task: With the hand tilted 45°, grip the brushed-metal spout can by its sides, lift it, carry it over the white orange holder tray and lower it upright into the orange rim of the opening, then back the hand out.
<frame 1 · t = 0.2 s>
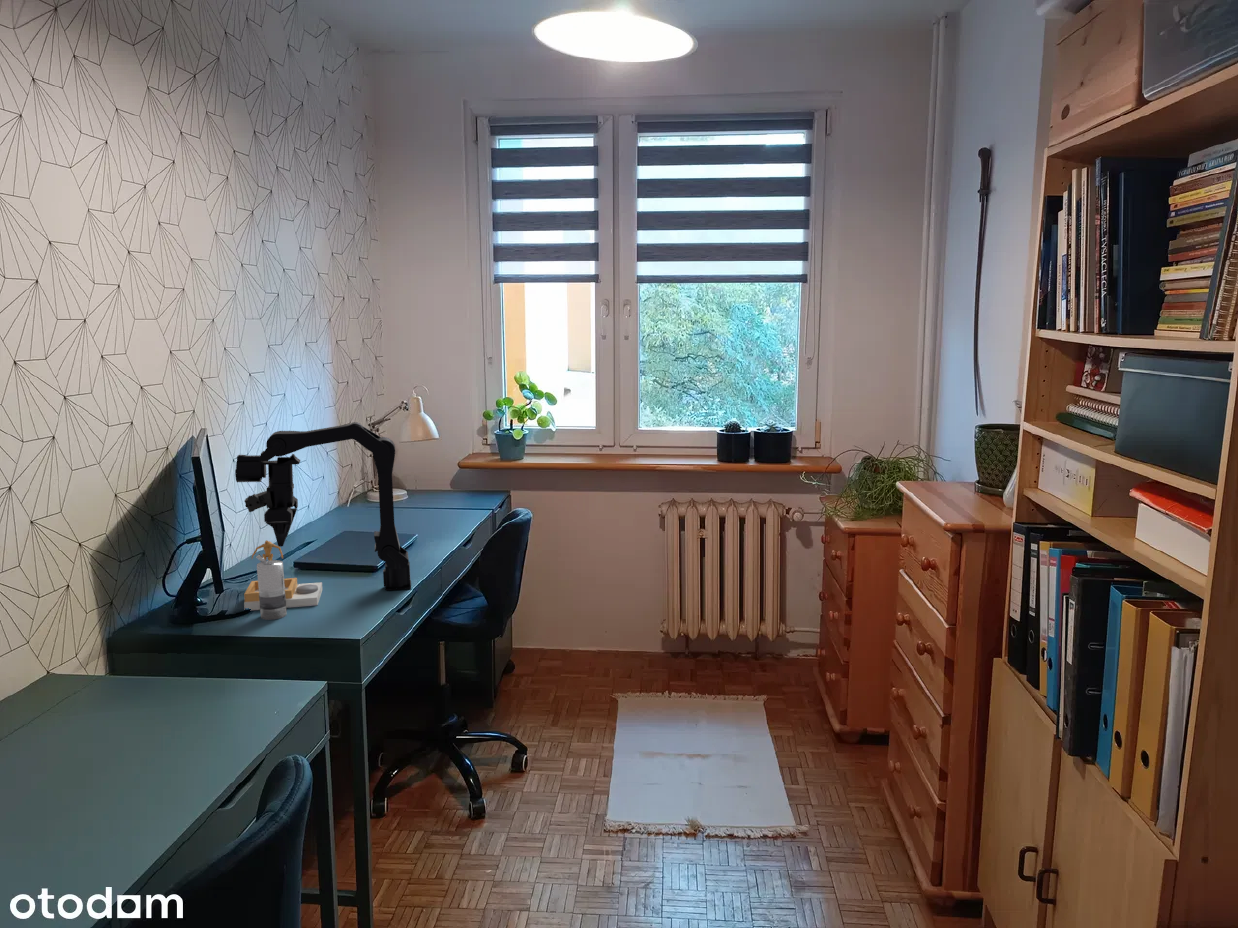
hand: (282, 541, 226), 14 cm above the table, tool pointing down, fingers open, 9 cm apart
figurine: (269, 585, 239), on the table
spout can: (273, 615, 214), on the table
white orange holder tray: (285, 599, 226), on the table
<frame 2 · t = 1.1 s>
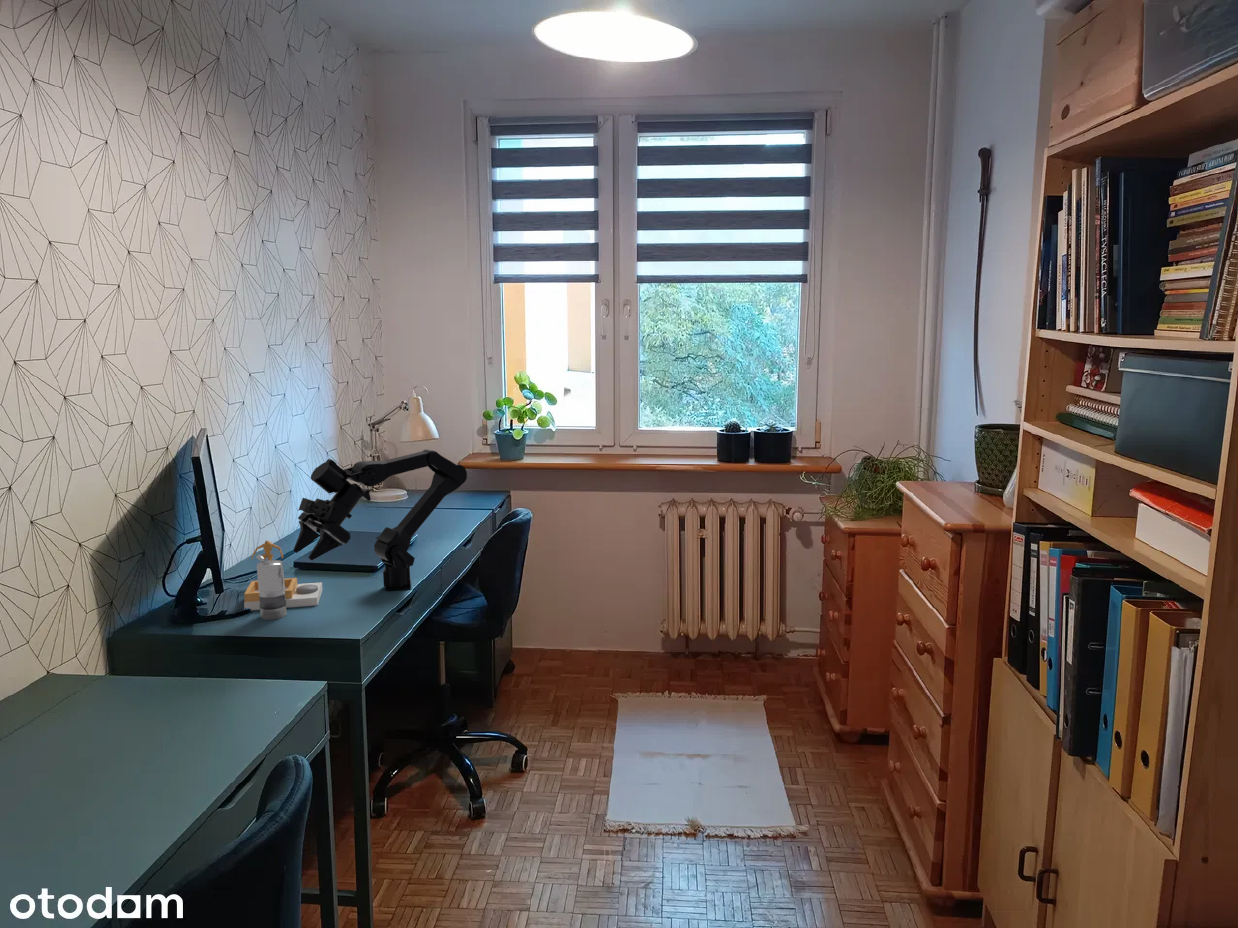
hand: (302, 555, 217), 13 cm above the table, tool tilted 45°, fingers open, 9 cm apart
nothing on the table moved.
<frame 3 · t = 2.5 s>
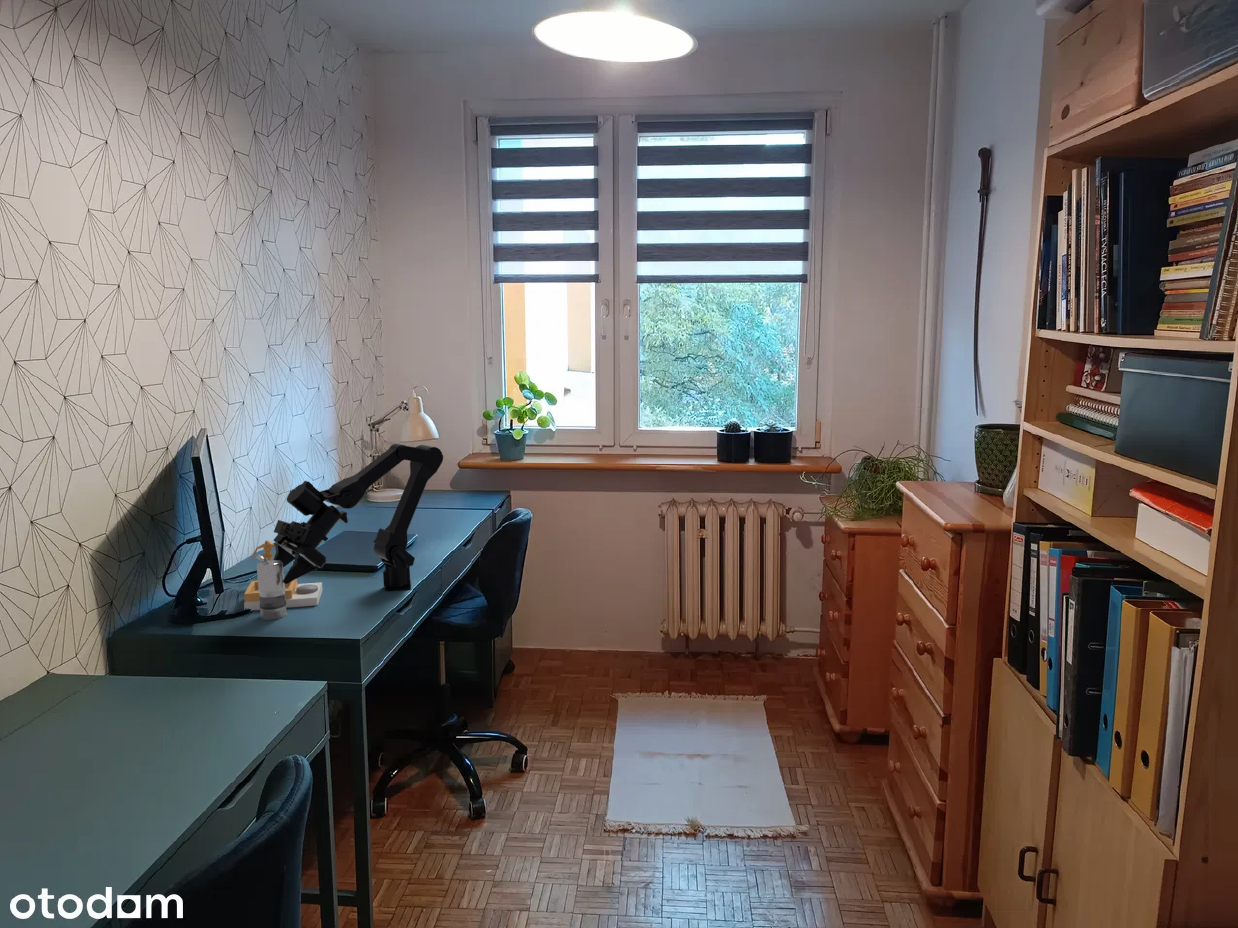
hand: (276, 578, 213), 9 cm above the table, tool tilted 45°, fingers open, 9 cm apart
nothing on the table moved.
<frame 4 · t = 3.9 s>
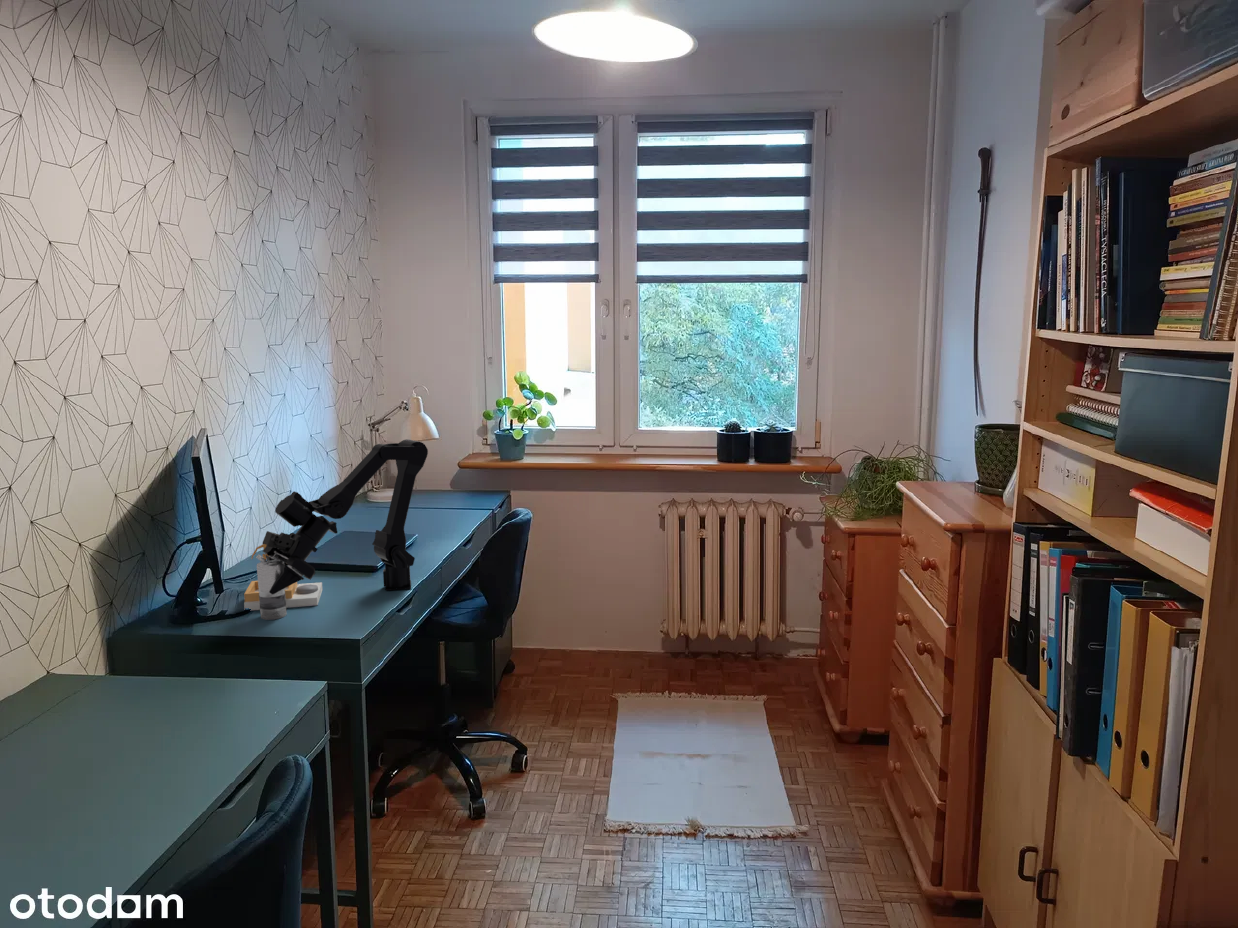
hand: (265, 590, 212), 7 cm above the table, tool tilted 45°, fingers closed on spout can, 6 cm apart
spout can: (273, 615, 214), on the table, touching gripper
everything else where it was.
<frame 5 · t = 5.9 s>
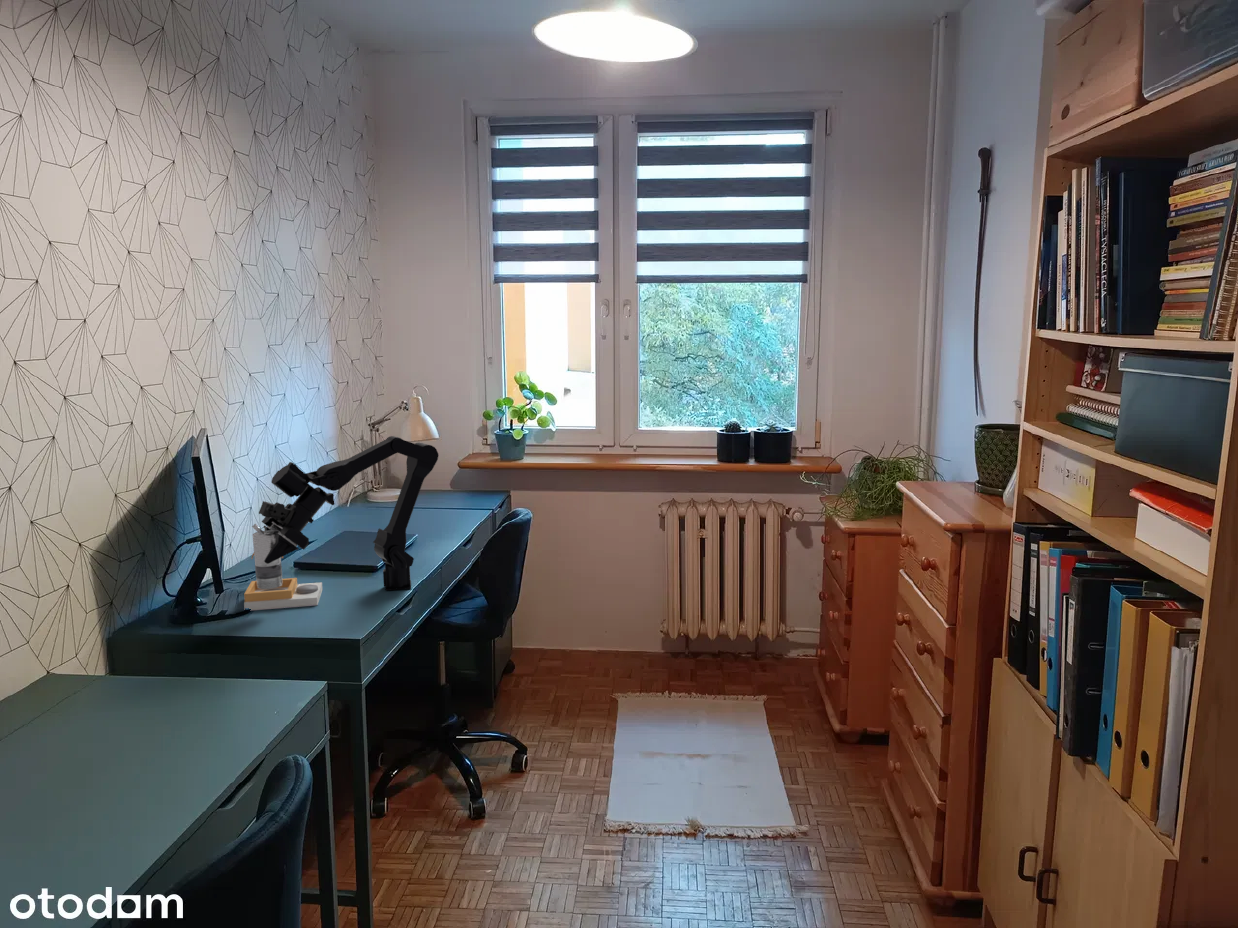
hand: (261, 560, 213), 13 cm above the table, tool tilted 45°, fingers closed on spout can, 6 cm apart
spout can: (270, 585, 215), point 7 cm above the table, touching gripper
everything else where it was.
when the fingers open (10 cm above the table, at t = 8.0 s): spout can stays where it is, resting on white orange holder tray.
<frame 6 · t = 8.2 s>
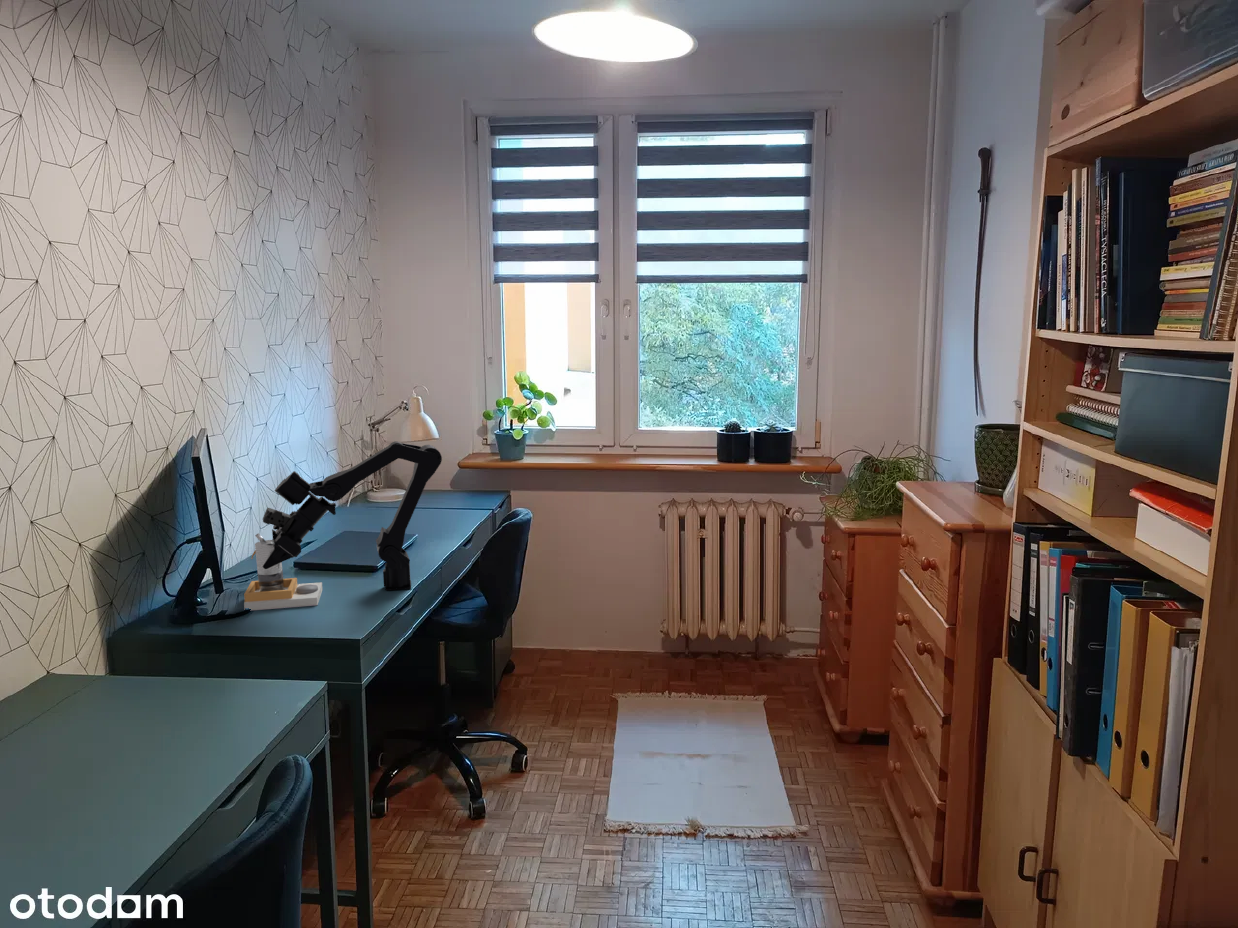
hand: (263, 563, 223), 10 cm above the table, tool tilted 45°, fingers open, 8 cm apart
spout can: (272, 592, 225), point 2 cm above the table, touching white orange holder tray
everything else where it was.
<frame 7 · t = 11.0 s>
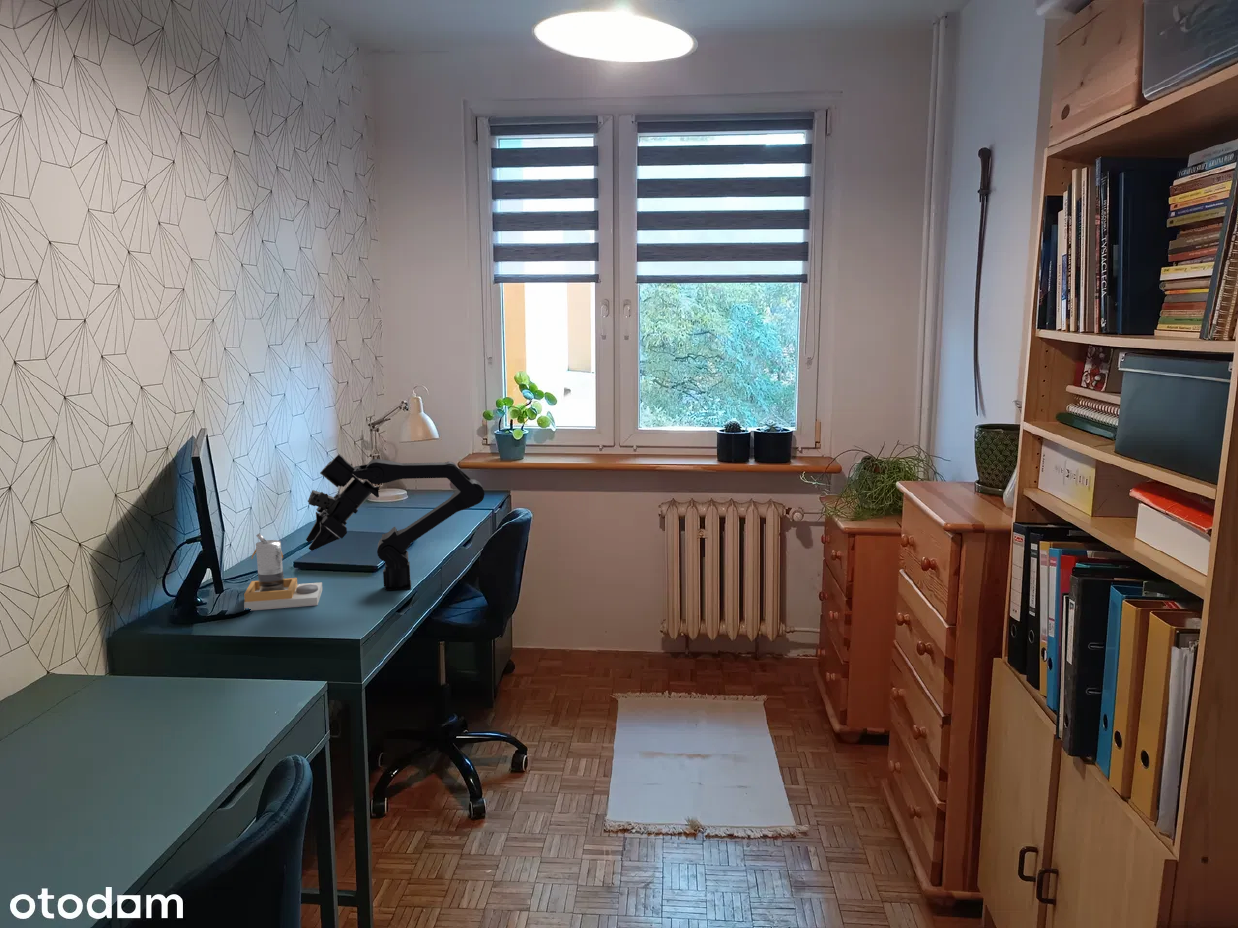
hand: (308, 545, 226), 13 cm above the table, tool tilted 45°, fingers open, 9 cm apart
nothing on the table moved.
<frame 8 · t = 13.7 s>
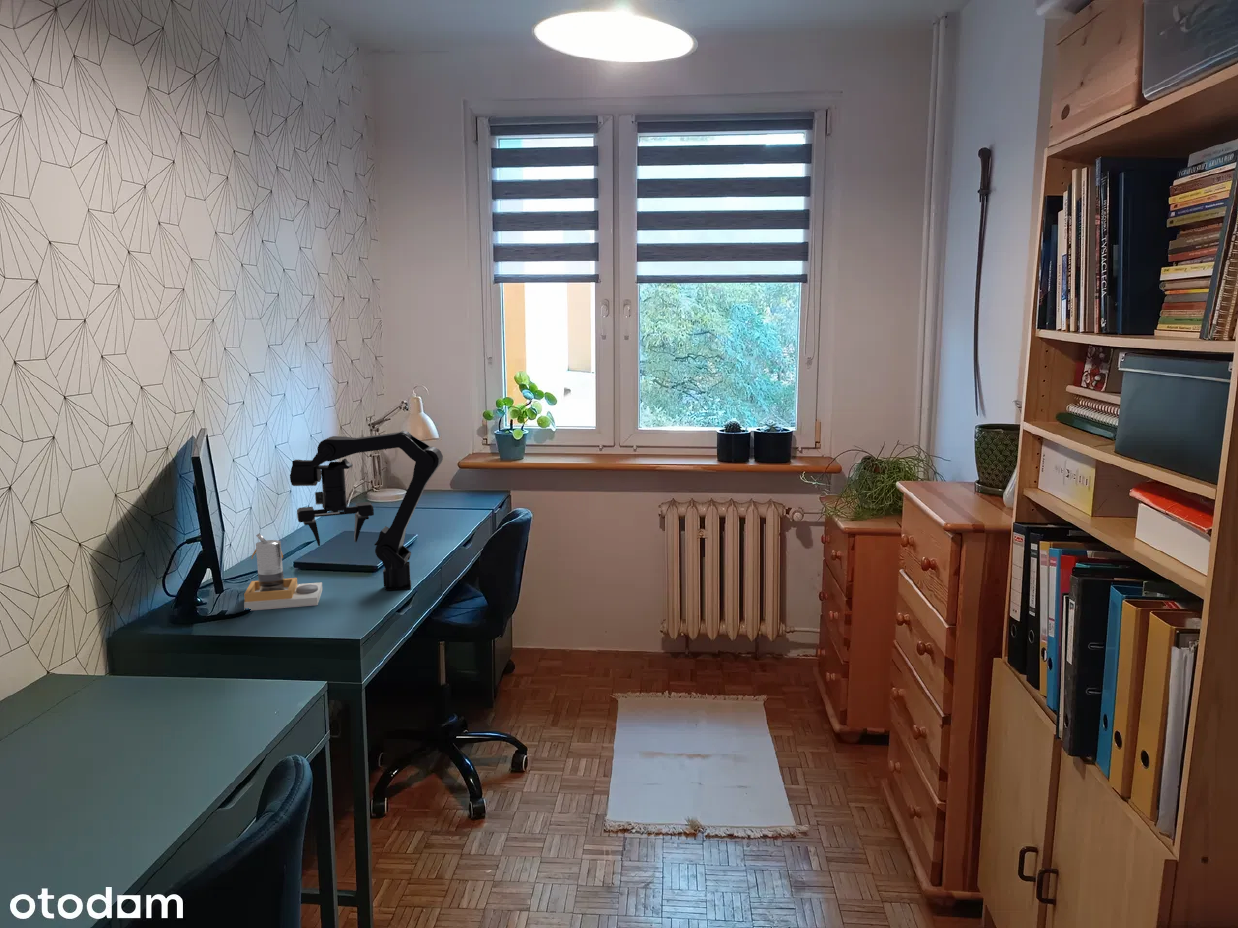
hand: (337, 543, 233), 12 cm above the table, tool pointing down, fingers open, 9 cm apart
nothing on the table moved.
at the end: spout can 0.1 cm from the target spot on the white orange holder tray, point 2.1 cm above the white orange holder tray's base; spout can tilted 0°; the gripper is holding nothing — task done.
